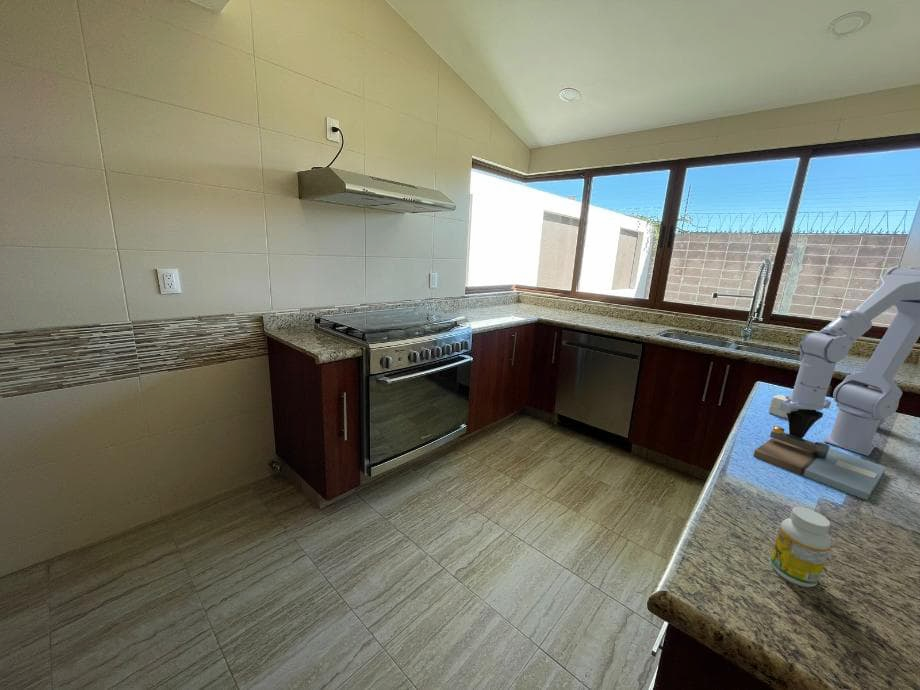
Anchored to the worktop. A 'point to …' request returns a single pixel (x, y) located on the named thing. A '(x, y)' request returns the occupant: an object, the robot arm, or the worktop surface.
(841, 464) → the door leaf
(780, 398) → the container set
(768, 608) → the worktop surface
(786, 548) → the supplement bottle
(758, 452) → the jamb board
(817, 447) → the lock bar
